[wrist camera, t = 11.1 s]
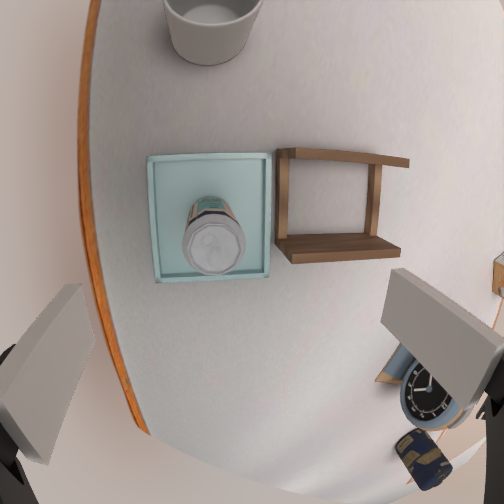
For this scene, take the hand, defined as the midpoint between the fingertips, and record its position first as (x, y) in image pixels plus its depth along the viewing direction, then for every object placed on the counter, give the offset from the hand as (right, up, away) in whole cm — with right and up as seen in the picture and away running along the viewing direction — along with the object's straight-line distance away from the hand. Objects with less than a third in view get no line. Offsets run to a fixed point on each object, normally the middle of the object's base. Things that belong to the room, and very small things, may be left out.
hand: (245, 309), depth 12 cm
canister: (+42, -47, +47) cm, 78 cm away
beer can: (-4, +6, +21) cm, 22 cm away
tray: (-4, +6, +22) cm, 23 cm away
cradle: (+9, +9, +23) cm, 26 cm away
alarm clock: (+29, -17, +35) cm, 48 cm away
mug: (-5, +28, +14) cm, 32 cm away
